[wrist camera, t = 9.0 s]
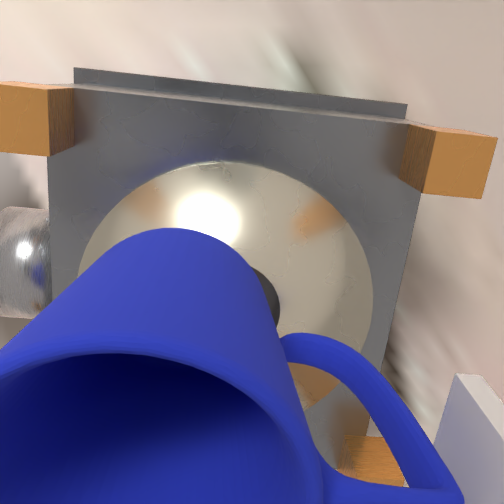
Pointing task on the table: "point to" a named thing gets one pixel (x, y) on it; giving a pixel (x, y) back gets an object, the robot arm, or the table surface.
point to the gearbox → (240, 207)
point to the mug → (185, 392)
